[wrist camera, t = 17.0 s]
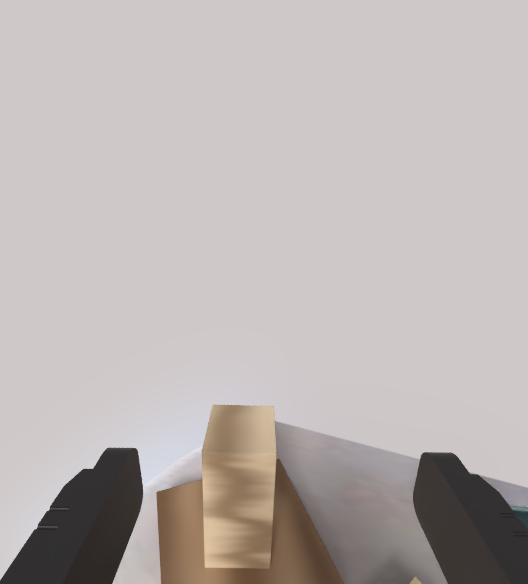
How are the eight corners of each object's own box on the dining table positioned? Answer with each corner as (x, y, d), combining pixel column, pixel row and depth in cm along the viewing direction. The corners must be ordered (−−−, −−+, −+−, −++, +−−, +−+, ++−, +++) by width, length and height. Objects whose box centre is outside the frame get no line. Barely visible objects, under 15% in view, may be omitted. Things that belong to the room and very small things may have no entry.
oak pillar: (268, 507, 32) (273, 406, 29) (269, 568, 27) (276, 453, 23) (214, 506, 32) (212, 404, 28) (204, 567, 27) (201, 451, 23)
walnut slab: (277, 478, 39) (279, 458, 38) (342, 613, 26) (346, 589, 26) (158, 513, 34) (156, 492, 33) (168, 699, 22) (166, 672, 21)
